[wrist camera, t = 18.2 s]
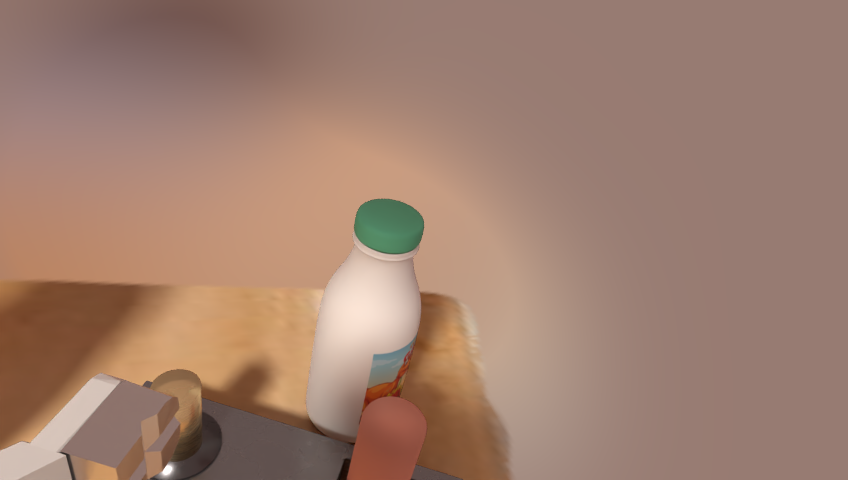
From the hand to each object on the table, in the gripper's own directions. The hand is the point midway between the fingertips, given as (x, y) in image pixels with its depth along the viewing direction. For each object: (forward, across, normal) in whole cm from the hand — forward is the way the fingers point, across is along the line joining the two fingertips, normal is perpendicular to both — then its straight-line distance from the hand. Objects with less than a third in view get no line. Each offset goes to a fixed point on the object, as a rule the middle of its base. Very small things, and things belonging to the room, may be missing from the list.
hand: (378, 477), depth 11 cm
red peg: (+15, 0, +30) cm, 34 cm away
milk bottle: (+25, +4, +30) cm, 39 cm away
